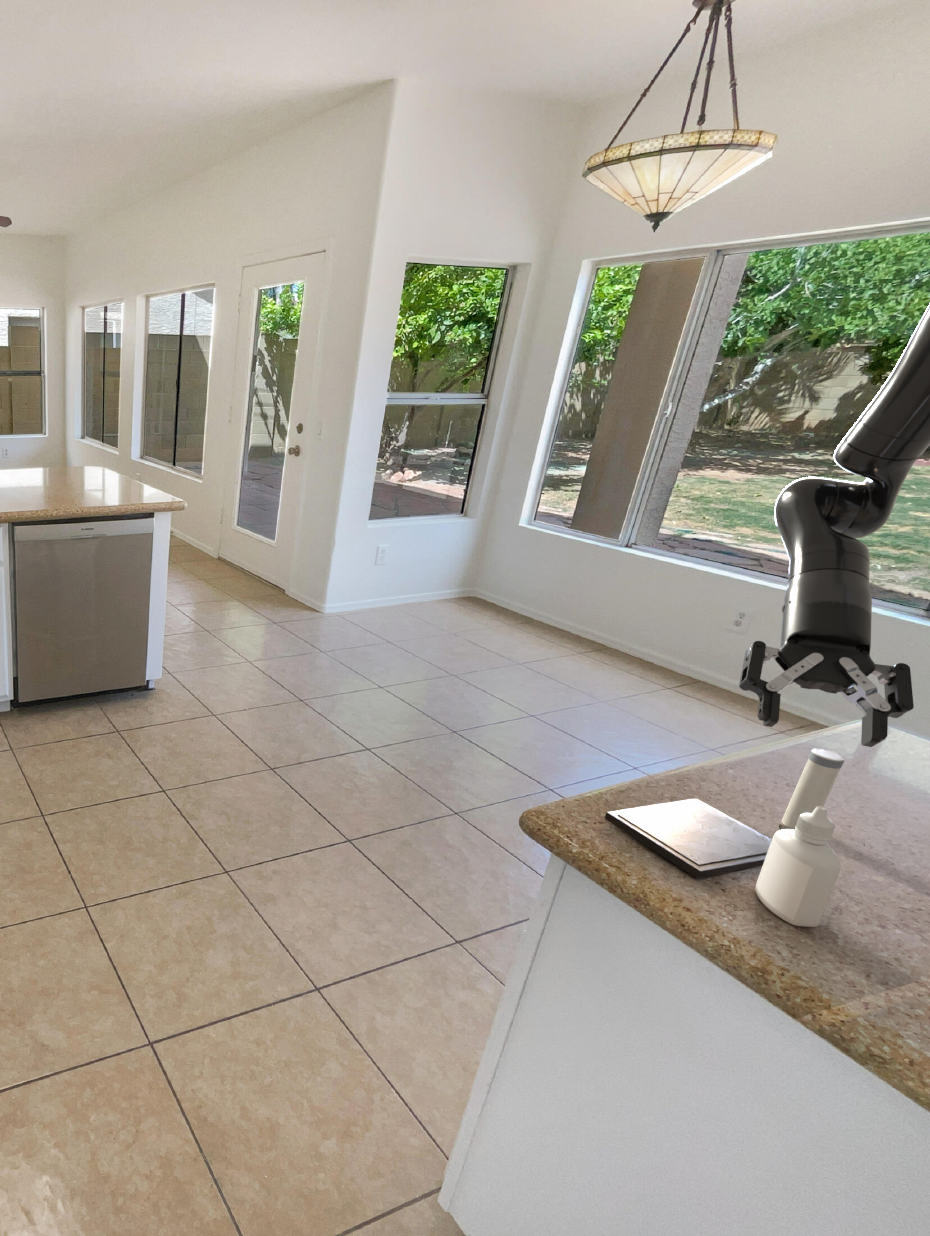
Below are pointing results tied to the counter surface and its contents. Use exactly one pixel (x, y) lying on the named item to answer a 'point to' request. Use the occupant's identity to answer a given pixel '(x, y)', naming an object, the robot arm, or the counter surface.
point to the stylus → (813, 785)
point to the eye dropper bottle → (800, 870)
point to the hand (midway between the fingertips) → (819, 734)
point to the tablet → (694, 836)
